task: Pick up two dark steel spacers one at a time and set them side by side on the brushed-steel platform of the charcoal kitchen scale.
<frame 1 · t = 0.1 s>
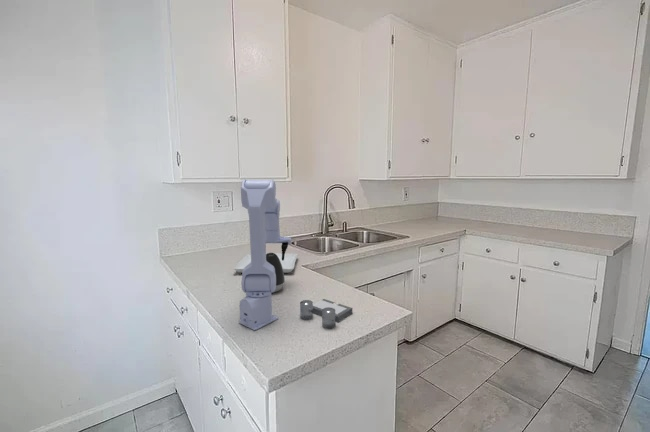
hand: (273, 259, 128), 11 cm above the worktop, tool pointing down, fingers open, 7 cm apart
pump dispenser: (271, 290, 122), on the worktop
square plate: (268, 267, 153), on the worktop
spacer b: (306, 317, 100), on the worktop
spacer a: (328, 325, 94), on the worktop
scale: (330, 312, 103), on the worktop
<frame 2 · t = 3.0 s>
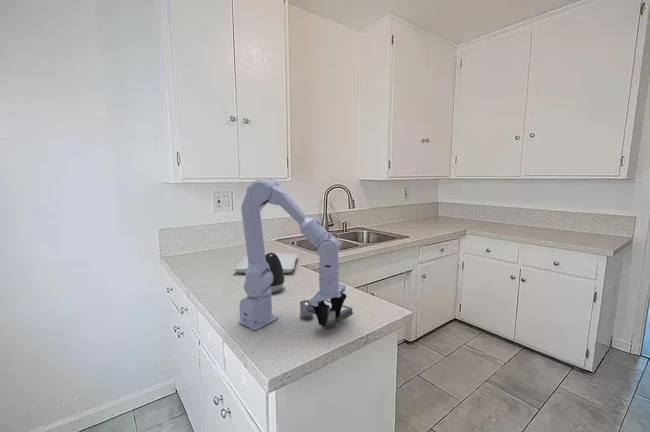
hand: (329, 320, 94), 2 cm above the worktop, tool pointing down, fingers open, 6 cm apart
nothing on the worktop moved.
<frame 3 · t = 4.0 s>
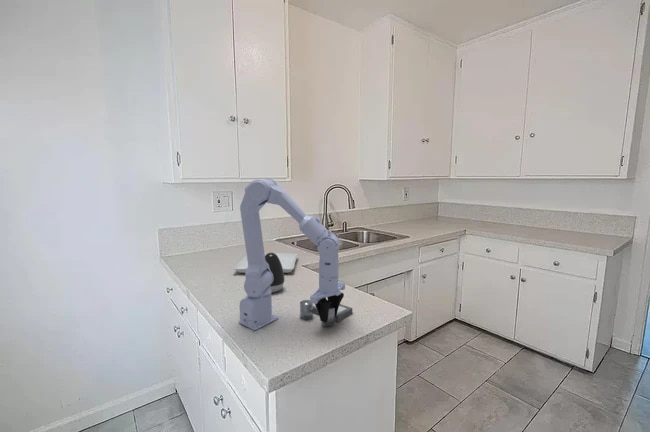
hand: (328, 318, 94), 2 cm above the worktop, tool pointing down, fingers closed on spacer a, 4 cm apart
spacer a: (327, 322, 94), point 1 cm above the worktop, touching gripper
everything else where it was.
when the fingers open (5 cm above the worktop, at t = 5.8 s): spacer a drops 1 cm, resting on scale.
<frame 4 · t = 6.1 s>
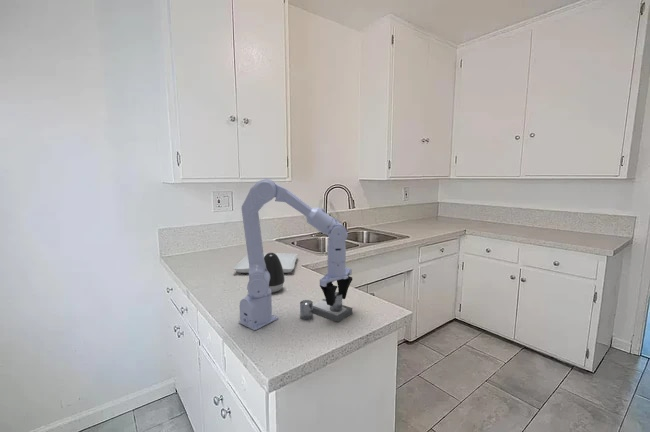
hand: (336, 301, 100), 5 cm above the worktop, tool pointing down, fingers open, 6 cm apart
spacer a: (335, 309, 100), point 2 cm above the worktop, touching scale
everything else where it was.
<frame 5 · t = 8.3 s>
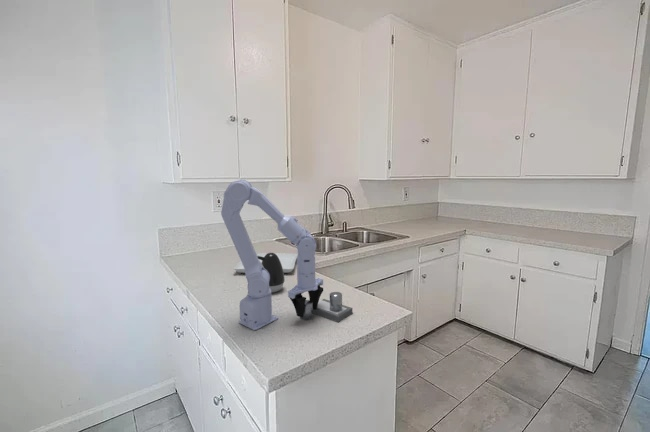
hand: (307, 312, 100), 2 cm above the worktop, tool pointing down, fingers open, 6 cm apart
nothing on the worktop moved.
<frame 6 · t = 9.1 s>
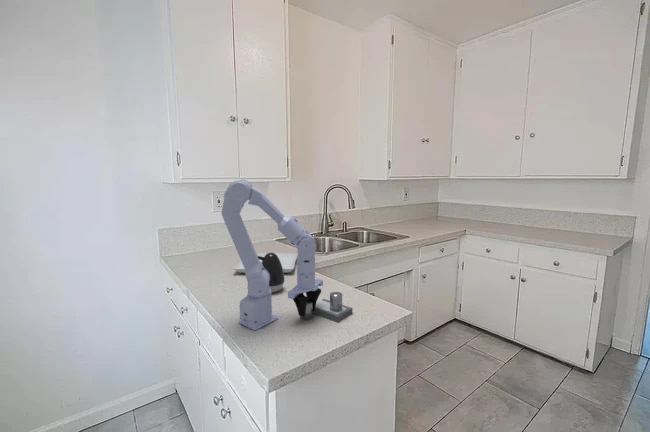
hand: (306, 312, 100), 1 cm above the worktop, tool pointing down, fingers closed on spacer b, 4 cm apart
spacer b: (306, 317, 100), on the worktop, touching gripper
everything else where it was.
when the fingers open (5 cm above the worktop, at t = 11.1 s): spacer b drops 1 cm, resting on scale.
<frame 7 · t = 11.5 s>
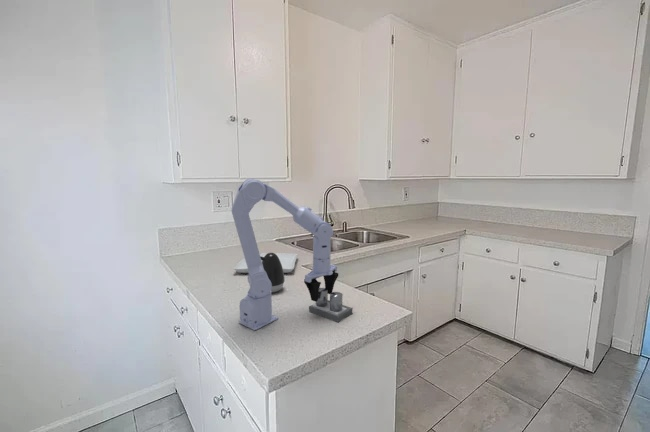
hand: (321, 296, 104), 5 cm above the worktop, tool pointing down, fingers open, 7 cm apart
spacer b: (321, 304, 104), point 2 cm above the worktop, touching scale
everything else where it was.
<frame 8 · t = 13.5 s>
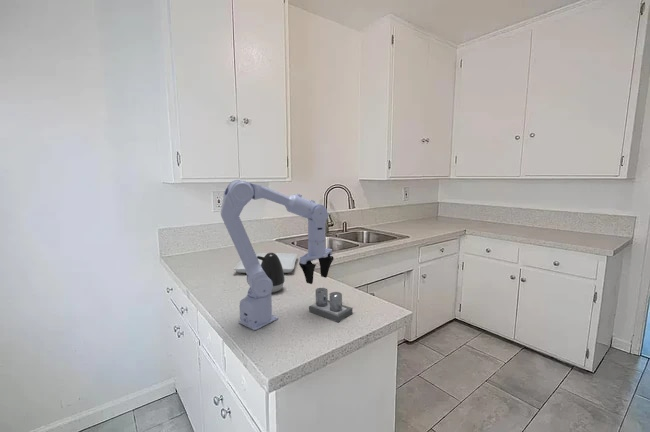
hand: (316, 279, 104), 10 cm above the worktop, tool pointing down, fingers open, 7 cm apart
nothing on the worktop moved.
at the end: spacer a 0.2 cm from the target spot, point 2.3 cm above the worktop; spacer b 0.2 cm from the target spot, point 2.3 cm above the worktop; spacer b tilted 0° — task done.
